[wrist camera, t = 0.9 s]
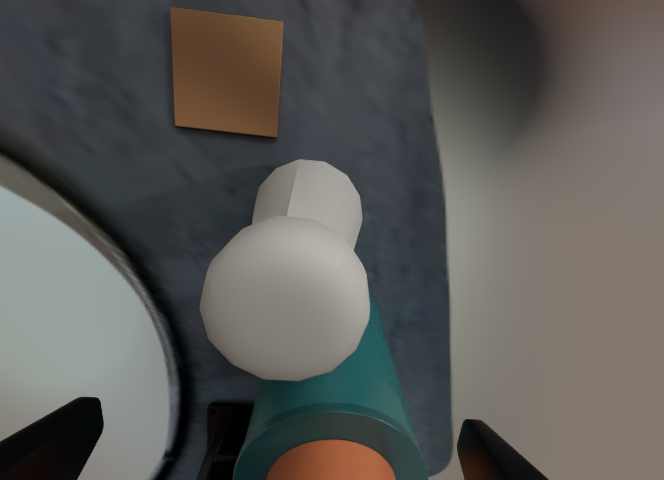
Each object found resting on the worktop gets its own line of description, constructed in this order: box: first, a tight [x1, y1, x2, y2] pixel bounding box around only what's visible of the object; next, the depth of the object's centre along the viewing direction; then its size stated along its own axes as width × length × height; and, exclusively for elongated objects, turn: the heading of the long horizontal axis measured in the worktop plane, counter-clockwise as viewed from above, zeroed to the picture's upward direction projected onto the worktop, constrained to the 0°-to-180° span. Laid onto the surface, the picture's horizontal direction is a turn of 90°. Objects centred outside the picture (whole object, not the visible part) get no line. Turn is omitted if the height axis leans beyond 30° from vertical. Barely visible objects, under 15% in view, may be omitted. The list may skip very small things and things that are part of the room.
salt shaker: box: [199, 159, 370, 381], centre depth 13 cm, size 6×6×13 cm
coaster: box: [170, 7, 284, 137], centre depth 17 cm, size 6×6×1 cm
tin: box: [233, 291, 428, 480], centre depth 17 cm, size 7×7×11 cm
